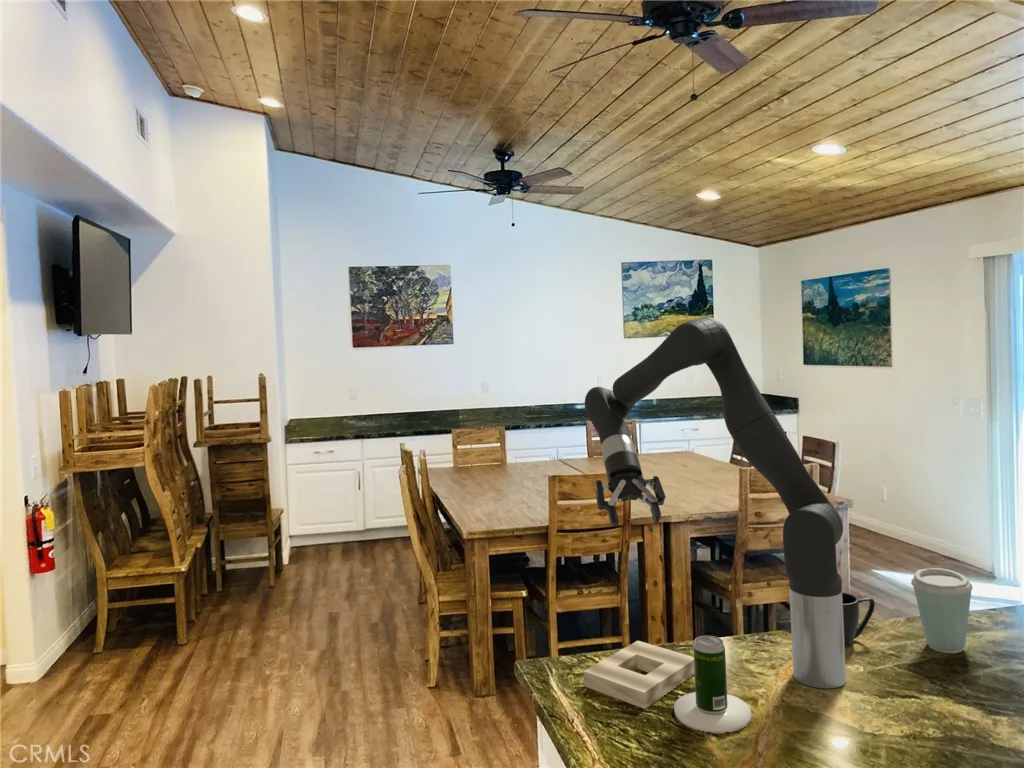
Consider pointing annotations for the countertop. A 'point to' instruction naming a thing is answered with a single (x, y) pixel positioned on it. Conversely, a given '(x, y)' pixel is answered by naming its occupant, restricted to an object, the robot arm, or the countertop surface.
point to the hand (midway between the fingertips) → (636, 522)
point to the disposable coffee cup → (943, 607)
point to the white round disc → (726, 722)
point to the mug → (854, 616)
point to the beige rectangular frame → (634, 687)
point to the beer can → (710, 675)
